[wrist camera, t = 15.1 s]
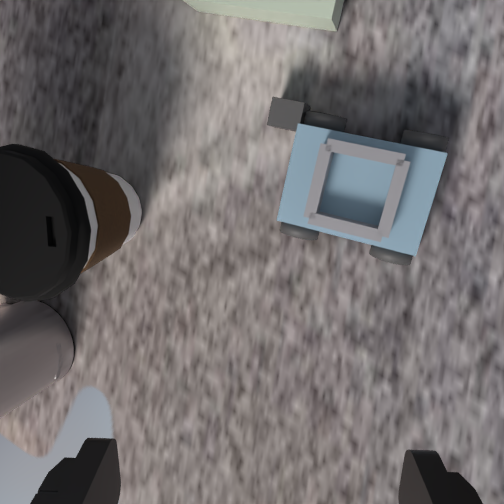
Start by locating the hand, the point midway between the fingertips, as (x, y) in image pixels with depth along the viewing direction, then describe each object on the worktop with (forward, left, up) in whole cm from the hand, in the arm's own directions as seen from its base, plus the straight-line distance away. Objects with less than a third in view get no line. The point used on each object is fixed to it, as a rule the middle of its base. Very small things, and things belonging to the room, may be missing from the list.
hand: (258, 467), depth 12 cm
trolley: (-1, +6, -25) cm, 25 cm away
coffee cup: (-22, -1, -25) cm, 33 cm away
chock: (-7, +10, -25) cm, 28 cm away
